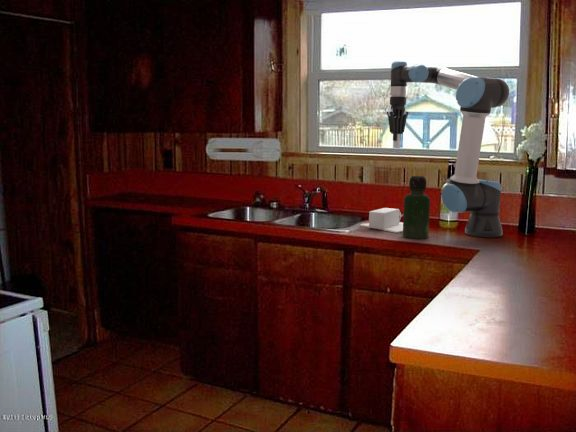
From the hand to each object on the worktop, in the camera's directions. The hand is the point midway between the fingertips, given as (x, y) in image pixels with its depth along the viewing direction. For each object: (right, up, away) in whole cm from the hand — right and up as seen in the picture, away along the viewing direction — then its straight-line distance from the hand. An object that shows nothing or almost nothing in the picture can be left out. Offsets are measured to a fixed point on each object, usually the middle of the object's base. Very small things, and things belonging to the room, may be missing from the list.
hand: (396, 148), depth 290 cm
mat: (-3, -36, -9) cm, 38 cm away
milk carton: (-12, -33, -17) cm, 40 cm away
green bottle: (+3, -40, -31) cm, 51 cm away
